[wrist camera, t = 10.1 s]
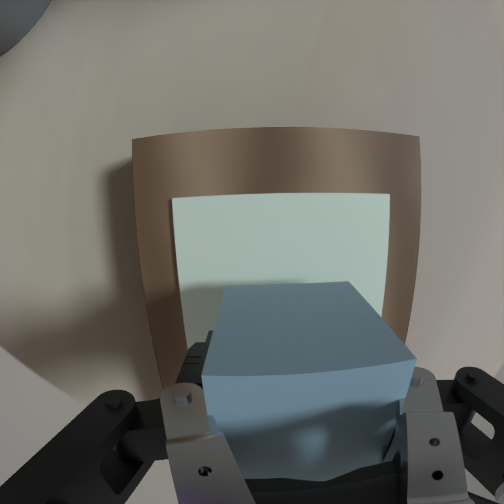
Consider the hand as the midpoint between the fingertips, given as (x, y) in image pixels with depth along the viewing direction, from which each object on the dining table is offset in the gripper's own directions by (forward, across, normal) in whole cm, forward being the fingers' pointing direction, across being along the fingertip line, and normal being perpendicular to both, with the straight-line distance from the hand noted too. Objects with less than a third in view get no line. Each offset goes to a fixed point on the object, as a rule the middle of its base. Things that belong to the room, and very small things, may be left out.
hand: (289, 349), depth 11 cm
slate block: (+1, 0, 0) cm, 1 cm away
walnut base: (+7, 0, 0) cm, 7 cm away
